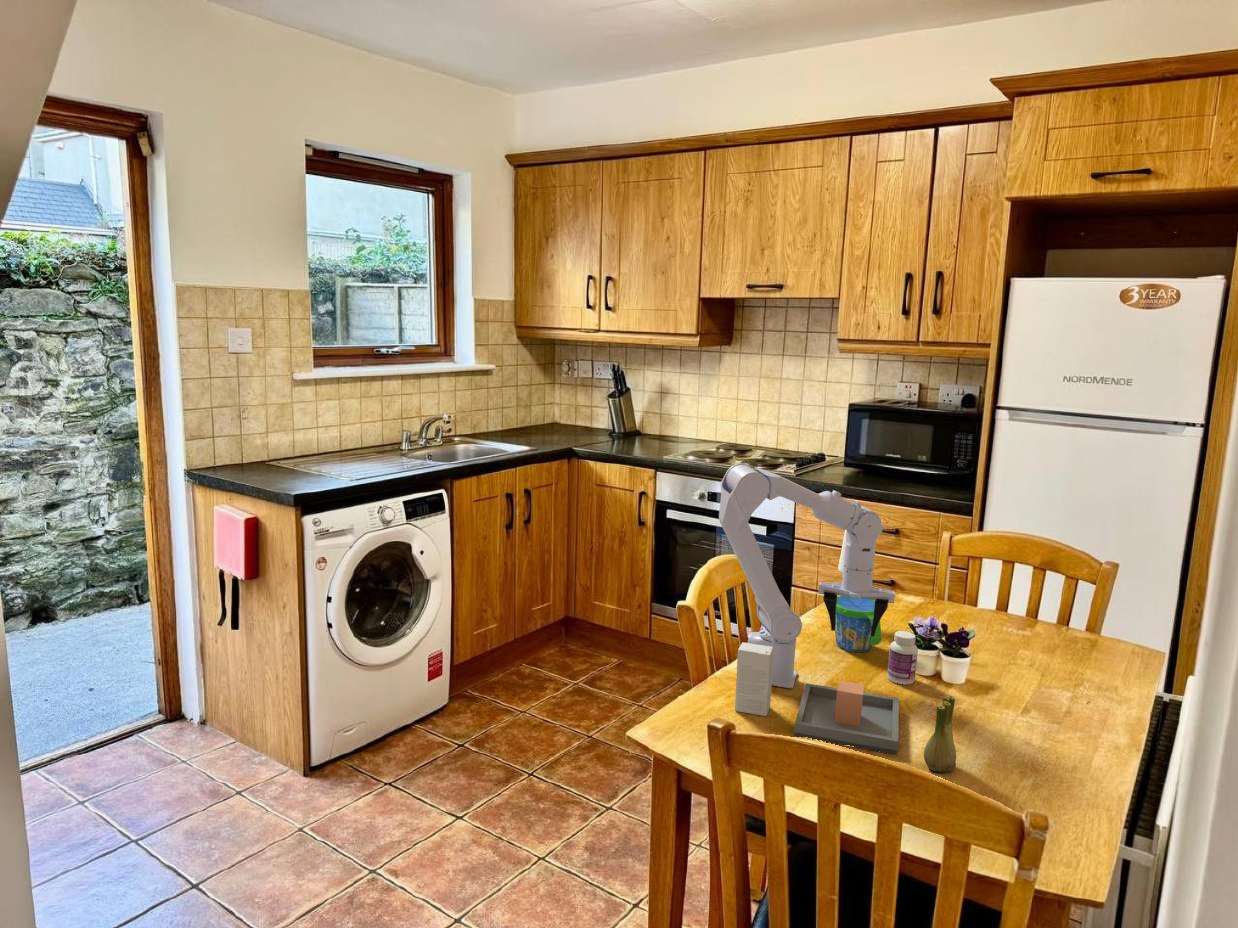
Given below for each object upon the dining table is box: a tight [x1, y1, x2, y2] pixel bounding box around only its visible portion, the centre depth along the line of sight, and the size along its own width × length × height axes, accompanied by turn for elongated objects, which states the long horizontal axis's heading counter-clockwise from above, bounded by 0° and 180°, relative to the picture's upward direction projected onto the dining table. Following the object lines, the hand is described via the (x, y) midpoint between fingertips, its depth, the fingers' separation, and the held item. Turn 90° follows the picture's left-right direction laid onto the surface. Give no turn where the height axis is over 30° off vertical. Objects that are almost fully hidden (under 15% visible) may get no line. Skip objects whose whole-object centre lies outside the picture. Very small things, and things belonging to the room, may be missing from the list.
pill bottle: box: [886, 630, 919, 686], centre depth 171 cm, size 5×5×10 cm
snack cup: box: [834, 595, 883, 653], centre depth 187 cm, size 16×10×10 cm
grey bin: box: [793, 682, 900, 756], centre depth 153 cm, size 17×17×2 cm
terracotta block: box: [835, 680, 865, 727], centre depth 153 cm, size 4×4×6 cm
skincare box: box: [734, 641, 774, 717], centre depth 157 cm, size 6×4×12 cm
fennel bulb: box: [923, 695, 957, 773], centre depth 139 cm, size 6×5×12 cm
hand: (852, 631), depth 172 cm, fingers open, 7 cm apart
